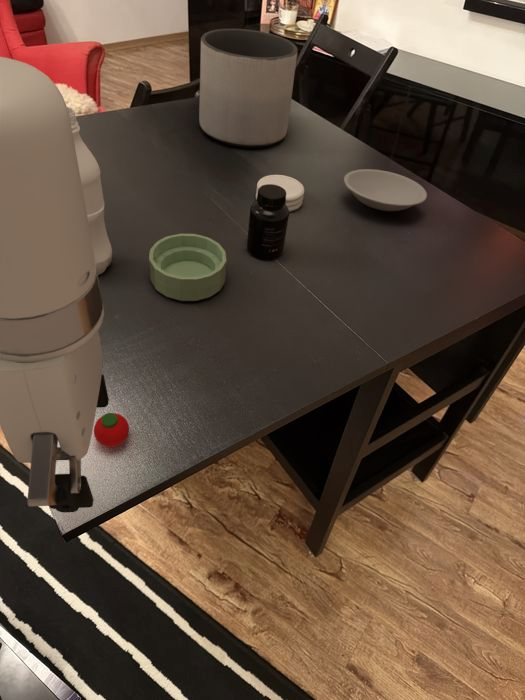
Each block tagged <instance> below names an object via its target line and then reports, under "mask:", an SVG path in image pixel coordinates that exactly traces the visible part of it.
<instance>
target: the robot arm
mask: <svg viewBox="0 0 525 700" xmlns="http://www.w3.org/2000/svg"><path fill="white" fill-rule="evenodd" d="M67 107H68V106H67V103H66V101H65V98H64V96H63V94H62V92H61V91H60V89H59V88H58V86H57V85H56V84H55V82H54V81H53V80H52V79H51V78H50V77H49V76H48V75H47V74H45V73H44V72H43V71H41V70H40V69H38V68H36V67H35V66H33V65H31V64H29V63H26V62H24V61H20V60H16V59H13V58H9V57H6V56H5V57H4V56H0V428H1V431H2V434H3V437H4V439H5V441H6V443H7V446H8V447H9V450H10V452H11V453H12V456H13V458H14V459H15V460H16V461H17V462H18V463H21V464H22V463H24V464H30V467H29V478H28V489H27V506H28V507H31V508H32V507H33V508H34V507H49V508H50V509H52V510H56V511H57V512H58V513H63V514H64V513H65V514H67V513H76V512H78V511H79V509H88V508H89V509H90V508H93V506H94V495H93V493H92V490H91V487H90V484H89V481H88V477H87V476H85V475H82V459H83V458H85V457H86V455H87V454H88V452H89V449H90V445H91V441H92V436H93V435H92V434H93V431H94V426H95V418H96V412H97V408H100V409H101V408H102V409H103V408H106V407H107V406H109V401H110V399H109V394H108V388H107V385H106V379H105V375H104V374H103V366H104V357H103V348H102V342H101V335H100V332H99V330H100V327H101V326H102V323H103V322H104V316H105V308H104V301H103V296H102V291H101V290H102V289H101V283H100V278H99V275H98V273H97V268H96V264H95V258H94V252H93V247H92V241H91V235H90V229H89V223H88V217H87V212H86V206H85V201H84V195H83V189H82V184H81V178H80V173H79V167H78V162H77V156H76V150H75V145H74V139H73V134H72V128H71V123H70V119H69V114H68V110H67ZM57 461H68V469H69V473H56V470H57Z"/></svg>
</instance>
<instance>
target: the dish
mask: <svg viewBox="0 0 525 700" xmlns="http://www.w3.org/2000/svg"><path fill="white" fill-rule="evenodd" d="M343 183H344V185H345V187H346V188H347V189H348V190H349V191H350V192H351V194H352V195H353V196H354V197H355V198H356V199H357V200H358V201H359V202H360V203H362V204H363V205H365V206H366V207H369V208H372V209H375V210H379V211H384V212H398V211H404V210H406V209H409V208H411V207H414V206H417V205H420V204H422V203H423V202H425V201H426V199H427V198H428V193H427V191H426V189H425V188H424V187H423V186H422V185H421V184H419V182H417V181H415V180H414V179H411V178H409V177H407V176H404V175H401V174H400V173H399V174H398V173H395V172H392V171H388V170H386V171H385V170H380V169H373V168H372V169H371V168H369V169H367V168H366V169H365V168H364V169H356V170H351V171H350V172H347V173H346V174H345V175H344V177H343Z"/></svg>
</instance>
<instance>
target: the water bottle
mask: <svg viewBox="0 0 525 700" xmlns="http://www.w3.org/2000/svg"><path fill="white" fill-rule="evenodd" d="M67 110H68V114H69V119H70V123H71V128H72V134H73V139H74V145H75V150H76V156H77V162H78V167H79V173H80V178H81V184H82V189H83V195H84V201H85V206H86V212H87V217H88V223H89V229H90V235H91V241H92V247H93V252H94V258H95V264H96V268H97V273H98V276H99V275H102V274H103V273H104V272H105V271H106V270H107V267H110V265H111V263H112V260H113V248H112V244H111V242H110V239H109V235H108V233H107V229H106V224H105V223H106V222H105V204H106V203H105V201H104V200H105V199H104V193H103V186H102V180H101V168H100V165H99V162H98V161H97V159H96V157H95V156H94V154H92V152H91V151H90V149H89V148H88V147H87V145H86V144H85V142H84V141H83V139H82V137H81V135H80V131H81V128H80V125H79V122H78V121H77V115H76V112H75V109H73V108H72V107H70V106H67Z"/></svg>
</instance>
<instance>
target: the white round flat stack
mask: <svg viewBox="0 0 525 700" xmlns="http://www.w3.org/2000/svg"><path fill="white" fill-rule="evenodd" d="M266 184H273V185H277V186H280V187H282V188H283V189H285V191H286V203H285V204H286V206H287V207H288V209H289V213H290V212H294V211H296V210H298V209H300V208H301V206H302V205H303V200H304V194H305V187H304V185H303V184H302V182H300V181H299V180H297V179H296V178H293V177H291V176H288V175H283V174H269V175H265V176H263V177H261V178H260V179H259V180H258V181H257V184H256V190H255V191H256V193H255V199H256V200H257V195H258V189H259V188H260V187H261V186H263V185H266ZM256 200H255V201H256Z"/></svg>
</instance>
